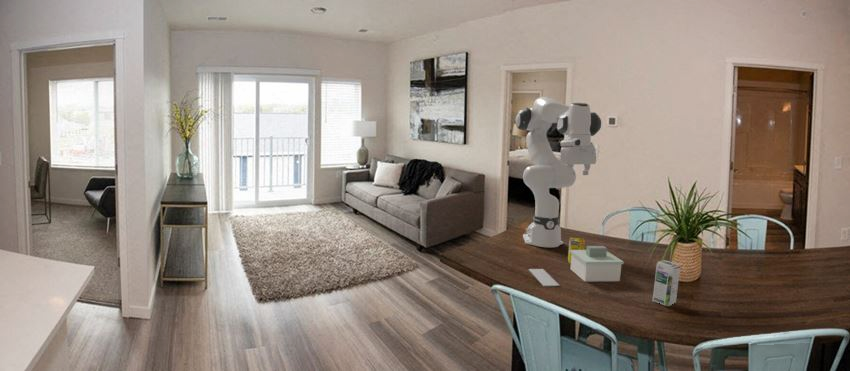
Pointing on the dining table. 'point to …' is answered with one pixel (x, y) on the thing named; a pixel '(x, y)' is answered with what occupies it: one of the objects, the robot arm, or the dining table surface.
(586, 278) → the storage box
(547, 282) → the rubber mat
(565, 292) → the dining table surface
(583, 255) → the lid
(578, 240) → the supplement box
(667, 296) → the syrup box
